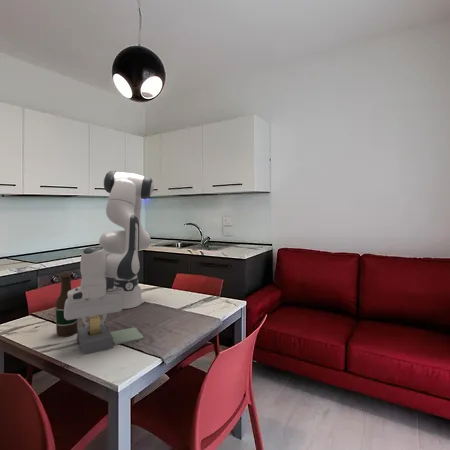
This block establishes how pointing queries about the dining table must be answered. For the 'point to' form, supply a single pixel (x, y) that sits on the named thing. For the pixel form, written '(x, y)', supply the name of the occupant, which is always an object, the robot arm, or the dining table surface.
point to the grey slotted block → (94, 340)
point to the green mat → (126, 335)
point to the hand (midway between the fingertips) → (94, 326)
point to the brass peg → (94, 325)
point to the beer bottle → (62, 324)
